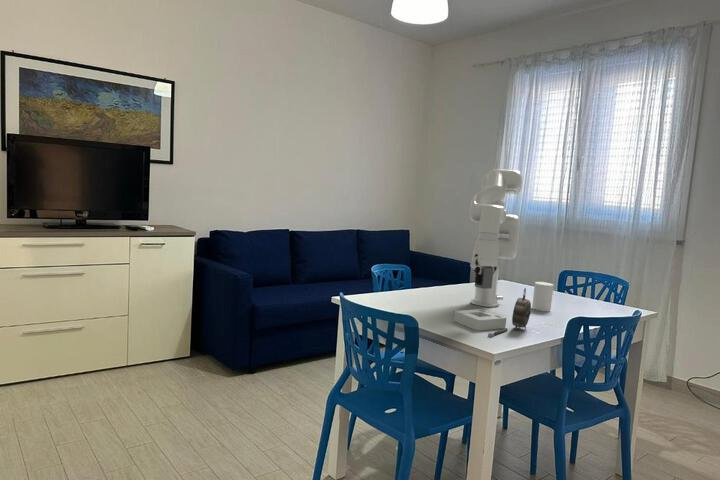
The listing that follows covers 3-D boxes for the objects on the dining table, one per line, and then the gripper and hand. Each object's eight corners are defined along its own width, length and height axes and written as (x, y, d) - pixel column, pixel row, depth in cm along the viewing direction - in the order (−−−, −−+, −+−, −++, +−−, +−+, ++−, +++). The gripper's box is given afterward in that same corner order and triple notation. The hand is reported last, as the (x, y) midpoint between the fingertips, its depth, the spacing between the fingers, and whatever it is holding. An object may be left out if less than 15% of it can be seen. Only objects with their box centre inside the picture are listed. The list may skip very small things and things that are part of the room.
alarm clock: (516, 325, 207) (521, 285, 206) (530, 327, 205) (535, 287, 203) (509, 330, 198) (514, 288, 196) (524, 333, 195) (529, 291, 194)
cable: (504, 330, 198) (505, 327, 198) (508, 331, 197) (508, 328, 197) (488, 336, 188) (488, 333, 187) (491, 337, 187) (491, 334, 186)
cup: (551, 309, 243) (554, 283, 242) (549, 312, 236) (552, 286, 235) (533, 306, 247) (536, 281, 245) (531, 309, 239) (533, 283, 238)
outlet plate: (480, 318, 213) (481, 308, 213) (505, 328, 201) (506, 317, 201) (453, 320, 206) (454, 310, 206) (477, 330, 194) (479, 319, 194)
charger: (483, 286, 205) (485, 265, 204) (491, 288, 201) (493, 267, 200) (474, 286, 203) (476, 265, 202) (482, 288, 199) (484, 267, 198)
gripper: (497, 236, 208) (492, 282, 209) (464, 235, 199) (460, 282, 201) (511, 239, 201) (506, 285, 203) (478, 237, 193) (473, 286, 194)
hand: (483, 283), depth 202 cm, fingers closed on charger, 4 cm apart
